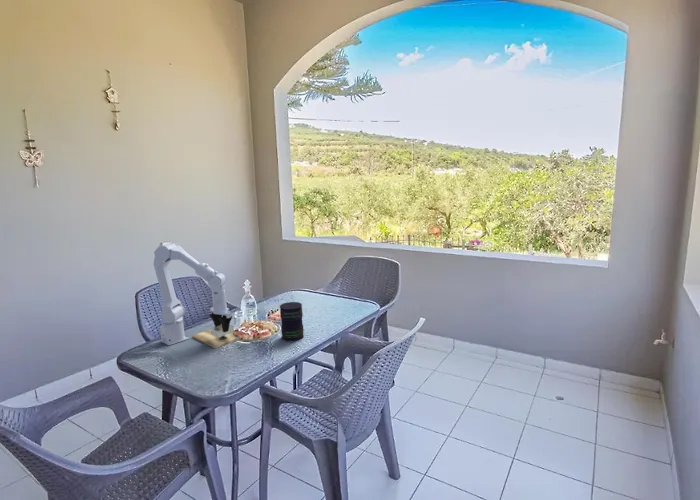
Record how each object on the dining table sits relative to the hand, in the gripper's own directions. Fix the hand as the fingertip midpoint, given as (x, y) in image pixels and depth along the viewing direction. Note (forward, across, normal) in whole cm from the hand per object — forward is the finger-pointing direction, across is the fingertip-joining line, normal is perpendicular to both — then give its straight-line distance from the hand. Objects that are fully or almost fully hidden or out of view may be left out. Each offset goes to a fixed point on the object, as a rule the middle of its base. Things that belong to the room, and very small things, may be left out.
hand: (222, 330), depth 193 cm
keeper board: (+5, +5, 0) cm, 7 cm away
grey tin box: (+2, 0, 0) cm, 2 cm away
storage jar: (+5, -22, -22) cm, 32 cm away
